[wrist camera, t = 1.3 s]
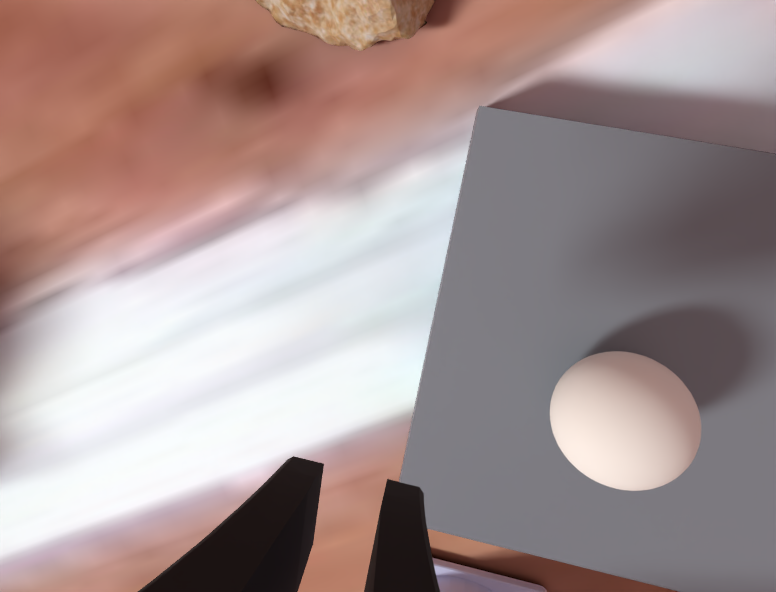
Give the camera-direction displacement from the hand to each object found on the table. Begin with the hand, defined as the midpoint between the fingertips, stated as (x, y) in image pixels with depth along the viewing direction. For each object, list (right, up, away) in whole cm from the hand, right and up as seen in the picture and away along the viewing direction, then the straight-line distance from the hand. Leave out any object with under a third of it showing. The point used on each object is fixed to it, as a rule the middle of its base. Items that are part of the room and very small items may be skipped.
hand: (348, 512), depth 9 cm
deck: (+14, +1, +9) cm, 17 cm away
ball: (+8, 0, +5) cm, 9 cm away
